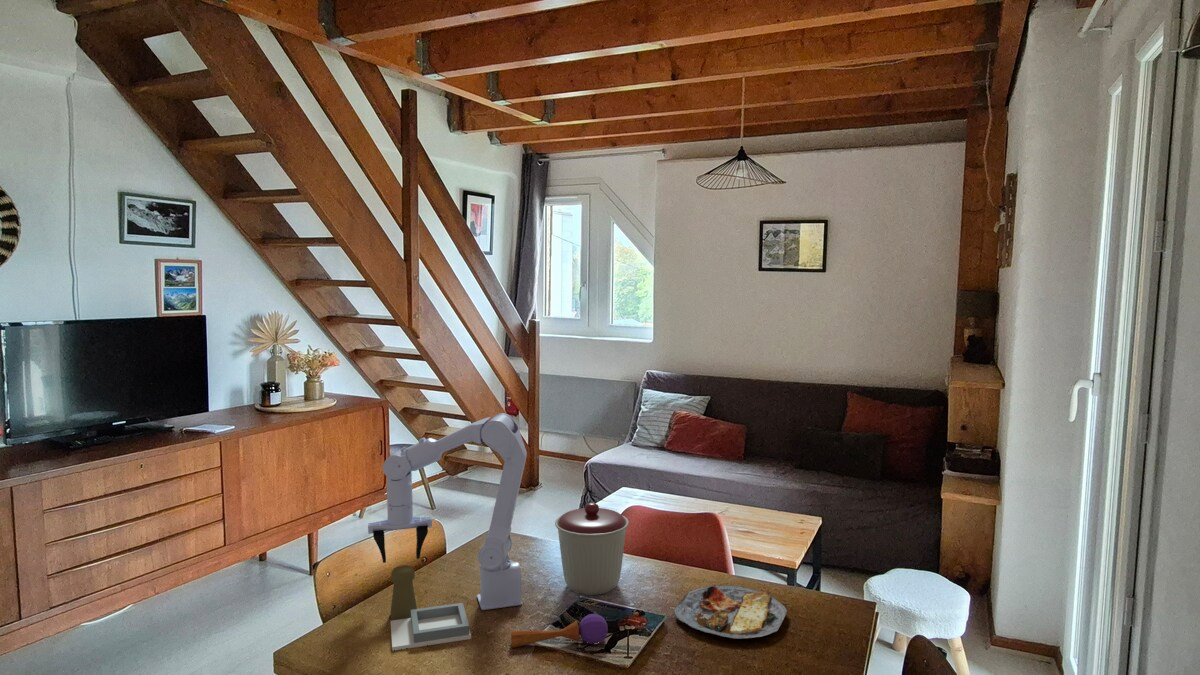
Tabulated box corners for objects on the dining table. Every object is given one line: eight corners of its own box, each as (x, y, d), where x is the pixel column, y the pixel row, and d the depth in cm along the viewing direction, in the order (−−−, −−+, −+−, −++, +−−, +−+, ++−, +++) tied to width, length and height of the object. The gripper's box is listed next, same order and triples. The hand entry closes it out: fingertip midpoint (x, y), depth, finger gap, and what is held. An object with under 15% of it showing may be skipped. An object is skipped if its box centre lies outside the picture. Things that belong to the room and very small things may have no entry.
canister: (544, 580, 181) (543, 498, 180) (607, 566, 190) (607, 488, 188) (574, 608, 165) (573, 519, 164) (642, 593, 174) (642, 508, 172)
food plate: (699, 585, 178) (699, 571, 177) (794, 604, 167) (795, 590, 167) (662, 632, 155) (662, 617, 155) (770, 658, 145) (770, 641, 145)
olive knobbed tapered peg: (410, 621, 159) (409, 573, 158) (385, 619, 160) (383, 571, 160) (422, 609, 165) (421, 563, 164) (398, 607, 166) (396, 561, 166)
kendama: (511, 620, 152) (604, 608, 154) (513, 649, 151) (607, 637, 153) (510, 628, 146) (607, 616, 148) (512, 659, 145) (610, 646, 147)
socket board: (464, 613, 163) (463, 601, 163) (471, 638, 152) (470, 626, 151) (390, 624, 158) (390, 612, 158) (392, 650, 147) (391, 637, 147)
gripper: (430, 495, 175) (431, 549, 176) (367, 500, 170) (369, 556, 171) (432, 503, 168) (433, 560, 169) (367, 509, 163) (369, 567, 165)
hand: (401, 559), depth 170 cm, fingers open, 7 cm apart
